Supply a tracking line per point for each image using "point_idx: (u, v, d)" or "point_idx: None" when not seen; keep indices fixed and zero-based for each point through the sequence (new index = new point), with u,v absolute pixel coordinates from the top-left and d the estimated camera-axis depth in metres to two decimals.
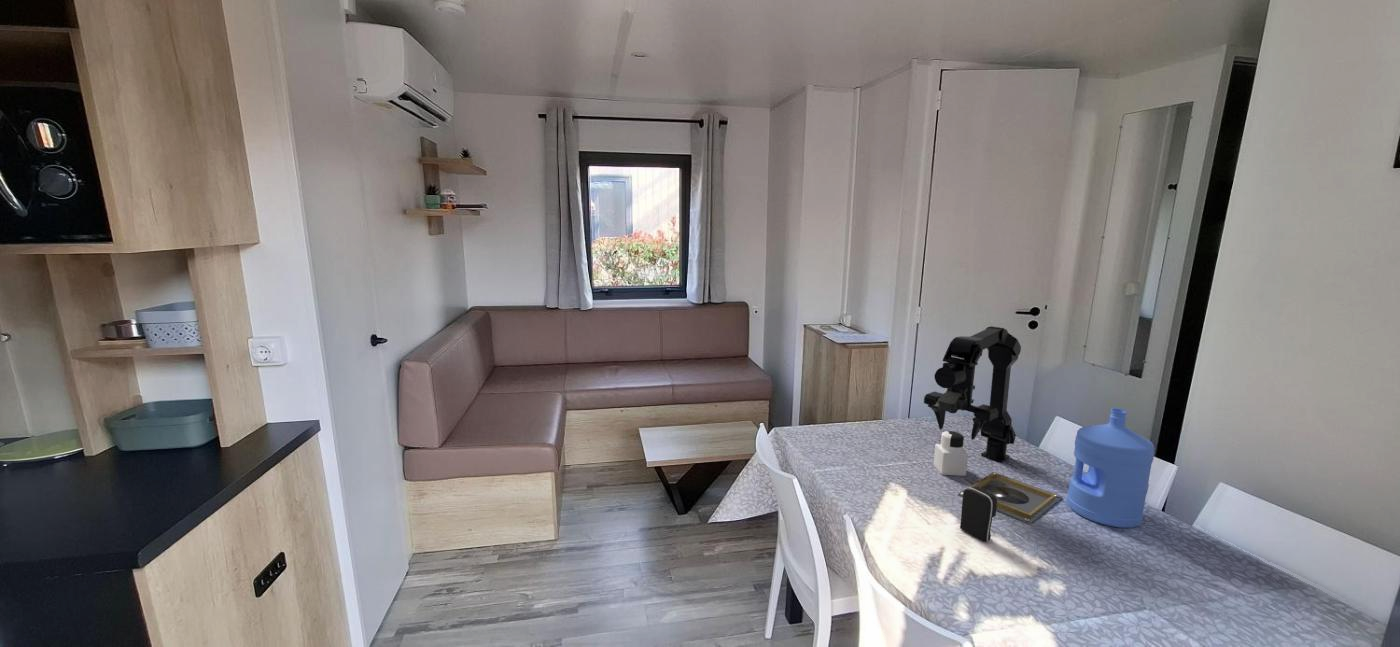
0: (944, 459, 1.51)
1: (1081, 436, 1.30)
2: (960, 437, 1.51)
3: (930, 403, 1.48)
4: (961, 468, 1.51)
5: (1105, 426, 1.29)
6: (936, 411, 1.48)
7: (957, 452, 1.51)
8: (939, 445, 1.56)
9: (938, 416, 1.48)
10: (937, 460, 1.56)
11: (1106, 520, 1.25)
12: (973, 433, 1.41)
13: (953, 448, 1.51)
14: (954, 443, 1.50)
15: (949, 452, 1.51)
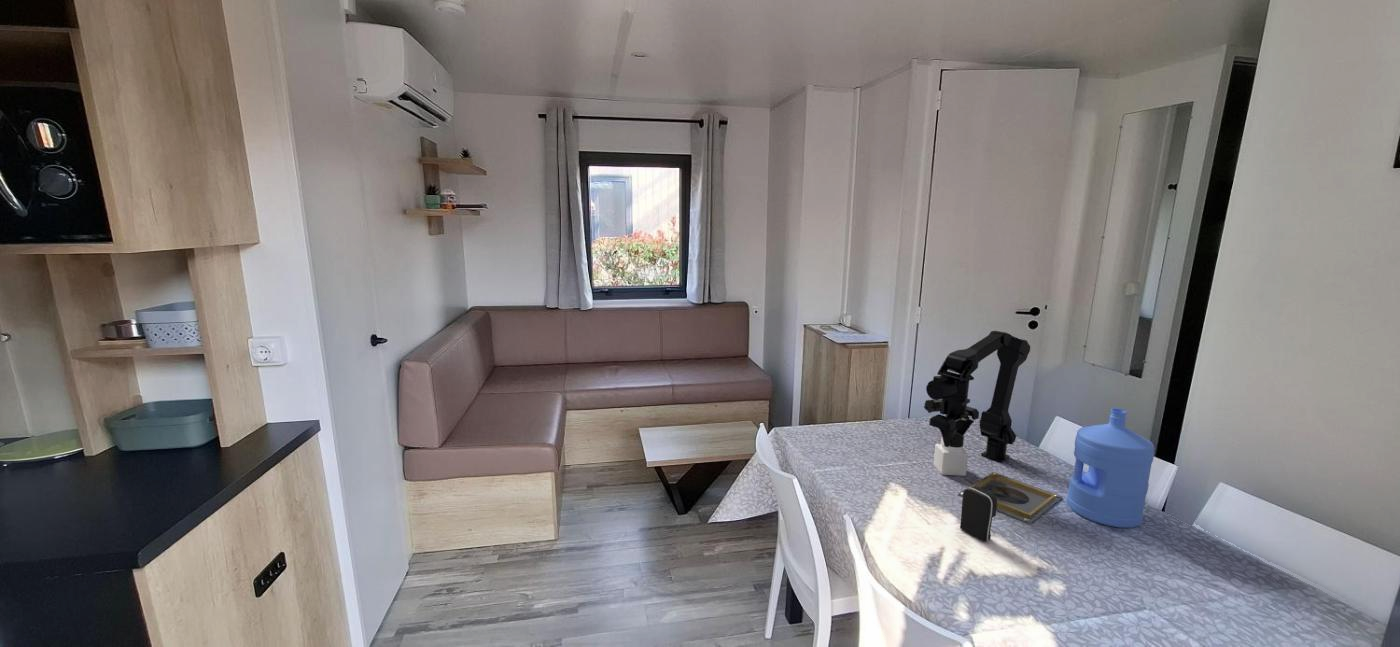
0: (944, 459, 1.51)
1: (1081, 436, 1.30)
2: (960, 437, 1.51)
3: None
4: (961, 467, 1.51)
5: (1105, 426, 1.29)
6: None
7: (957, 452, 1.51)
8: (939, 445, 1.56)
9: None
10: (937, 460, 1.56)
11: (1106, 520, 1.25)
12: None
13: (953, 448, 1.51)
14: (954, 443, 1.50)
15: (949, 452, 1.51)
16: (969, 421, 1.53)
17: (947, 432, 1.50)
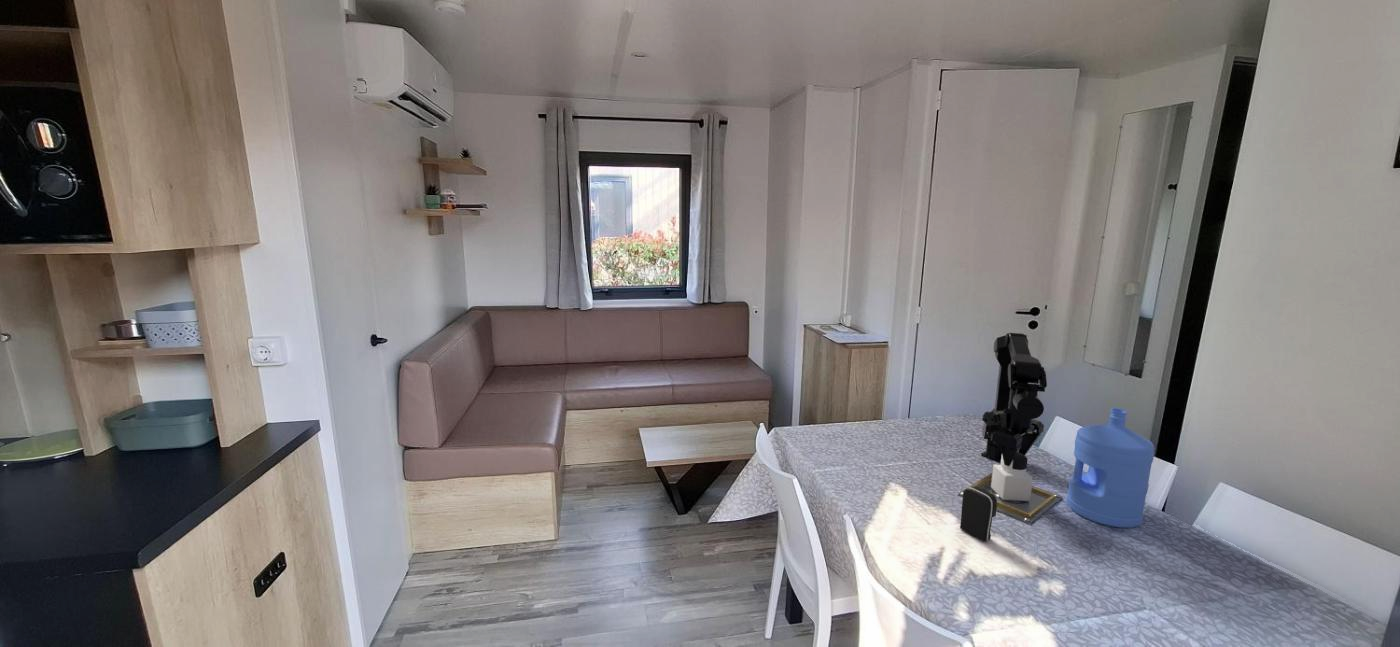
0: (1006, 483, 1.36)
1: (1081, 436, 1.30)
2: (1024, 458, 1.36)
3: None
4: (1025, 492, 1.36)
5: (1105, 426, 1.29)
6: None
7: (1020, 475, 1.36)
8: (998, 466, 1.40)
9: None
10: (995, 483, 1.40)
11: (1106, 520, 1.25)
12: None
13: (1016, 470, 1.35)
14: (1018, 465, 1.35)
15: (1012, 474, 1.36)
16: (1036, 434, 1.38)
17: (1008, 449, 1.33)
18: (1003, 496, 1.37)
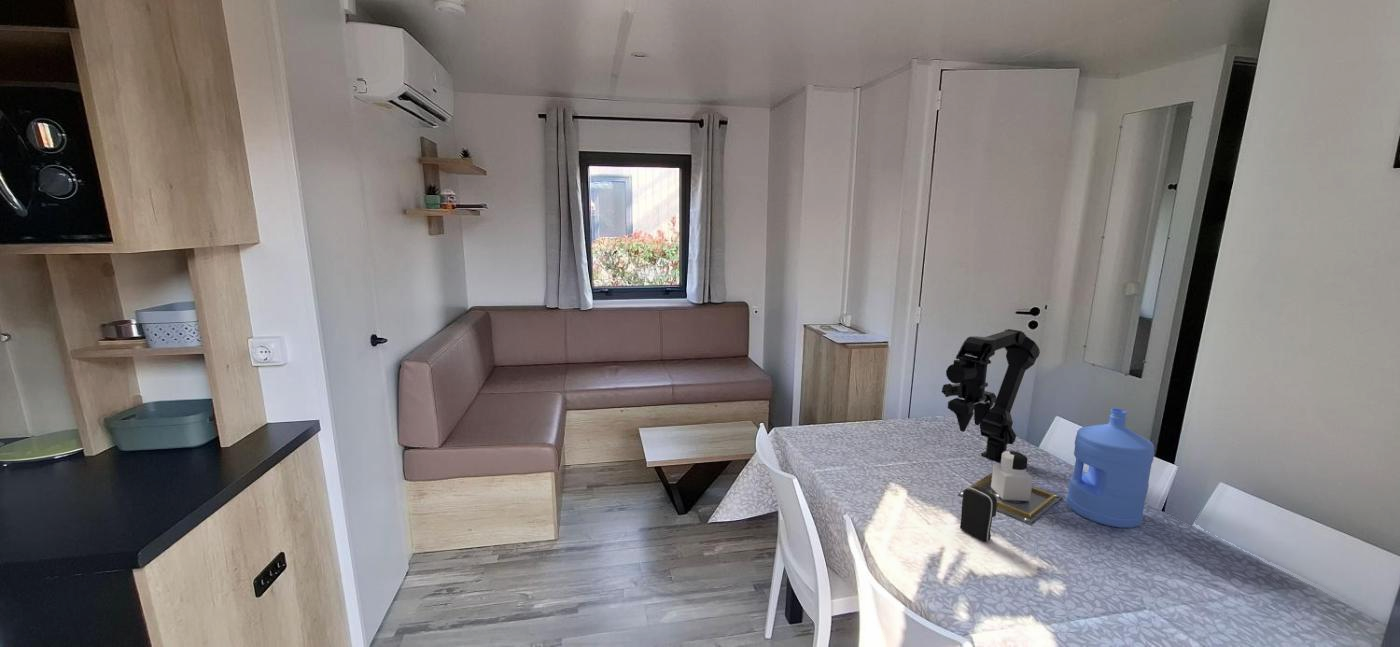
0: (1006, 483, 1.36)
1: (1081, 436, 1.30)
2: (1024, 458, 1.36)
3: None
4: (1025, 492, 1.36)
5: (1105, 426, 1.29)
6: None
7: (1020, 475, 1.36)
8: (998, 466, 1.40)
9: None
10: (995, 483, 1.40)
11: (1106, 520, 1.25)
12: None
13: (1016, 470, 1.35)
14: (1018, 465, 1.35)
15: (1012, 475, 1.36)
16: (989, 404, 1.55)
17: (963, 416, 1.50)
18: (1003, 496, 1.37)
